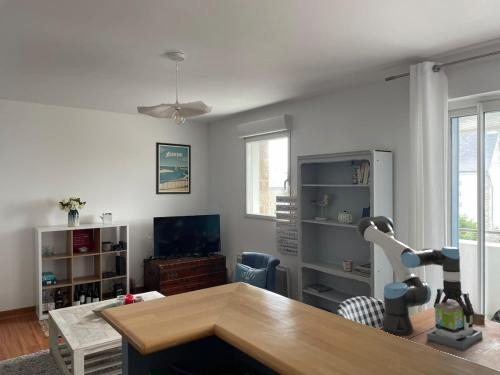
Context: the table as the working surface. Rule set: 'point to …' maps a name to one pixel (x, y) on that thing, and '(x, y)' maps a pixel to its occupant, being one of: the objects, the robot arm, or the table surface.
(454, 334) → the tea box
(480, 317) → the walnut holder
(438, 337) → the charcoal tray
